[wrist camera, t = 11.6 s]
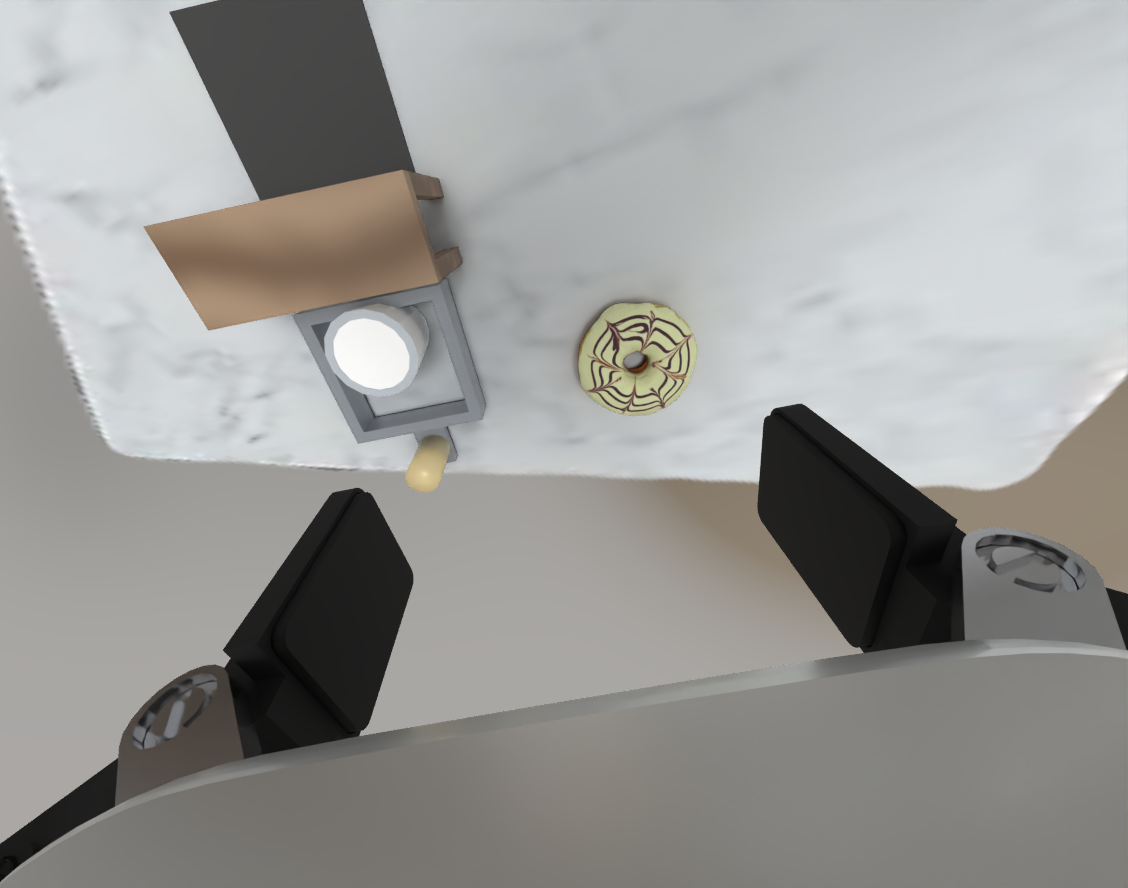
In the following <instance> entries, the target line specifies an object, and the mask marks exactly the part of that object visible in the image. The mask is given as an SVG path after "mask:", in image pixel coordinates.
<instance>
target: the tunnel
mask: <svg viewBox="0 0 1128 888" xmlns="http://www.w3.org/2000/svg"><path fill="white" fill-rule="evenodd" d="M440 197H444V195H443V192H442V188H441V185H440V181H439V179H438V178H434V177H430V176H426V175H422V174H418V173H413V172H409V171H405V170H399V171H394V172H390V173H385V174H381V175H376V176H372V177H367V178H363V179H358V180H353V181H349V182H344V183H340V184H335V185H331V186H326V187H322V188H317V189H312V190H308V191H303V192H299V193H294V194H290V195H285V196H281V197H276V198H271V199H267V200H262V201H258V202H253V203H249V204H244V205H240V206H235V207H230V208H226V209H221V210H217V211H212V212H208V213H203V214H199V215H194V216H190V217H185V218H180V219H176V220H171V221H167V222H162V223H158V224H153V225H149V226H144V228H145V230H146V232H147V233H148V235H149V236H150V238H151V240H152V241H153V243H154V244H155V246H156V248H157V249H158V251H159V252H160V254H161V256H162V257H163V259H164V260H165V262H166V264H167V265H168V267H169V268H170V270H171V272H172V273H173V275H174V276H175V278H176V280H177V281H178V283H179V284H180V286H181V287H182V289H183V291H184V292H185V294H186V295H187V297H188V299H189V300H190V302H191V303H192V305H193V307H194V308H195V310H196V311H197V313H198V315H199V316H200V318H201V319H202V321H203V323H204V324H205V326H206V327H207V329H208V330H213V329H218V328H223V327H228V326H232V325H237V324H242V323H247V322H252V321H256V320H261V319H266V318H271V317H276V316H280V315H285V314H290V313H295V312H300V311H304V310H309V309H314V308H319V307H324V306H328V305H333V304H338V303H343V302H348V301H352V300H357V299H362V298H367V297H372V296H376V295H381V294H386V293H391V292H396V291H400V290H405V289H410V288H415V287H420V286H424V285H429V284H434V283H439V282H440V281H441V280H442V279H443V278H445V277H446V276H447V275H448V274H449V273H450V272H452V271H453V270H454V269H455V268H456V267H458V266H459V265H460V264H461V263H462V258H461V255H460V251H459V248H458V247H455V248H450V249H445V250H443V251H441V252H439V253H437V254H435V255H434V252H433V249H432V245H431V242H430V239H429V236H428V233H427V230H426V226H425V223H424V220H423V217H422V214H421V210H420V207H419V204H418V201H417V200H431V199H436V198H440Z"/></svg>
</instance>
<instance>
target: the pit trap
mask: <svg viewBox="0 0 1128 888" xmlns="http://www.w3.org/2000/svg"><path fill="white" fill-rule="evenodd" d="M170 15H171V17H172V19H173V21H174V23H175V25H176V27H177V29H178V31H179V33H180V35H181V37H182V39H183V41H184V43H185V46H186V48H187V50H188V52H189V54H190V56H191V58H192V60H193V62H194V64H195V66H196V68H197V70H198V72H199V75H200V77H201V79H202V81H203V83H204V85H205V87H206V89H207V91H208V93H209V95H210V97H211V99H212V101H213V103H214V106H215V108H216V110H217V112H218V114H219V116H220V118H221V120H222V122H223V124H224V126H225V128H226V130H227V132H228V134H229V137H230V139H231V141H232V143H233V145H234V147H235V149H236V151H237V153H238V155H239V157H240V159H241V161H242V163H243V166H244V168H245V170H246V172H247V174H248V176H249V178H250V180H251V182H252V184H253V186H254V188H255V190H256V192H257V194H258V197H259V199H260V201H262V200H267V199H271V198H276V197H281V196H285V195H290V194H294V193H299V192H303V191H308V190H312V189H317V188H322V187H326V186H331V185H335V184H340V183H344V182H349V181H353V180H358V179H363V178H367V177H372V176H376V175H381V174H385V173H390V172H394V171H399V170H405V171H409V172H413V173H415V170H414V167H413V164H412V160H411V157H410V154H409V151H408V147H407V144H406V141H405V138H404V134H403V131H402V128H401V125H400V121H399V118H398V115H397V112H396V108H395V105H394V102H393V99H392V95H391V92H390V89H389V86H388V83H387V79H386V76H385V73H384V70H383V66H382V63H381V60H380V57H379V53H378V50H377V47H376V44H375V40H374V37H373V34H372V31H371V27H370V24H369V21H368V18H367V14H366V11H365V8H364V5H363V1H362V0H218V1H213V2H209V3H205V4H201V5H197V6H193V7H188V8H184V9H180V10H176V11H172V12H170Z"/></svg>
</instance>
